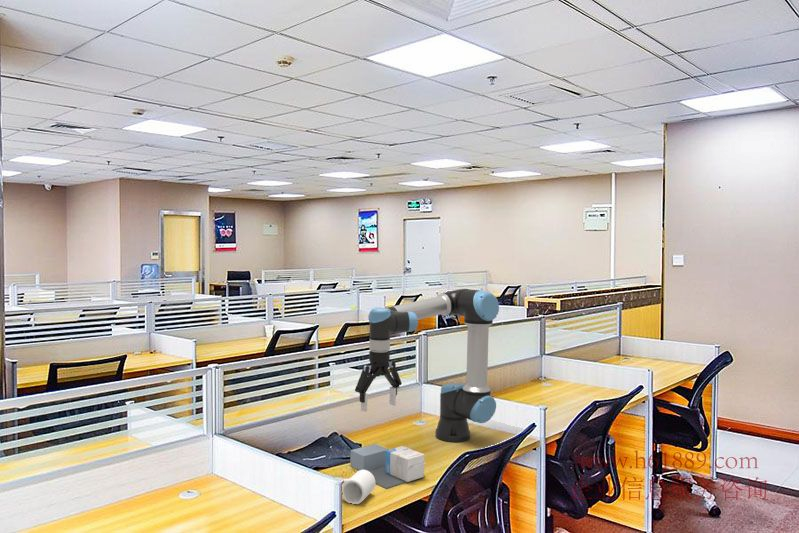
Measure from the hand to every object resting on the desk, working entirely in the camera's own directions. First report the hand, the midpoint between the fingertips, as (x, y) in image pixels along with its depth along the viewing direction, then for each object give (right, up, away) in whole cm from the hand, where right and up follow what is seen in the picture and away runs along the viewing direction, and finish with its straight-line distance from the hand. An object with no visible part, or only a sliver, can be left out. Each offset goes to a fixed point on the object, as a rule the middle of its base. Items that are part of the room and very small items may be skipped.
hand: (378, 407), depth 229 cm
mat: (+5, -23, -5) cm, 24 cm away
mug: (-8, -24, -25) cm, 35 cm away
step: (-4, -23, +4) cm, 23 cm away
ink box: (+6, -18, -1) cm, 19 cm away
